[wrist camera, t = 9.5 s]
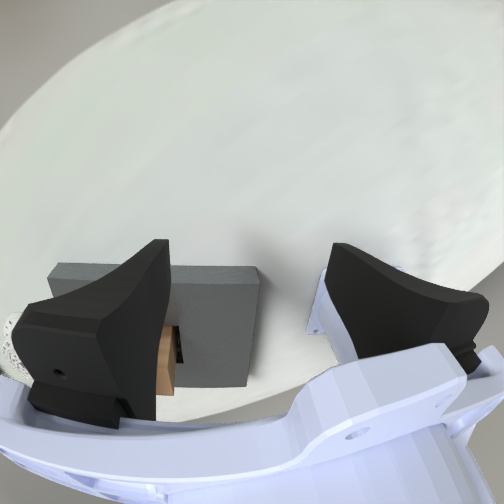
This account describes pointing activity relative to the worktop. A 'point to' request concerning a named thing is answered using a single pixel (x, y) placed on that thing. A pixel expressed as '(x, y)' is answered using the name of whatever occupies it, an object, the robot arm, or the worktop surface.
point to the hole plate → (195, 317)
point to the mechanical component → (8, 346)
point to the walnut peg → (167, 361)
